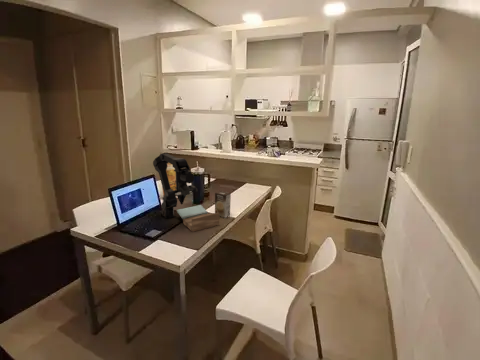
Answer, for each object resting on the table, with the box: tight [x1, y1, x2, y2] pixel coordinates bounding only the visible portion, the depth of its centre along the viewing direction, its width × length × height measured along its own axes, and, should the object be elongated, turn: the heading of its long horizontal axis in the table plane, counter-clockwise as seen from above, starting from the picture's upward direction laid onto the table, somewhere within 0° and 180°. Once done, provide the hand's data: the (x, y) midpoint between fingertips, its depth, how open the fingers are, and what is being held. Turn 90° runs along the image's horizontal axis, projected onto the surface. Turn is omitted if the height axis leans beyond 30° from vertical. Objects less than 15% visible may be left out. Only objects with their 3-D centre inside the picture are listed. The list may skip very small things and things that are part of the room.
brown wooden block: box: [182, 212, 220, 232], centre depth 168 cm, size 14×18×8 cm
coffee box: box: [214, 190, 232, 219], centre depth 182 cm, size 9×6×16 cm
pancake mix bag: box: [161, 163, 176, 198], centre depth 213 cm, size 7×19×28 cm, turn 147°
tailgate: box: [176, 204, 208, 220], centre depth 178 cm, size 2×18×10 cm
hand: (181, 204), depth 166 cm, fingers closed
